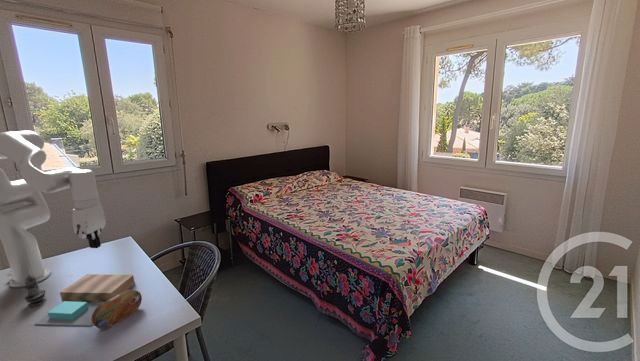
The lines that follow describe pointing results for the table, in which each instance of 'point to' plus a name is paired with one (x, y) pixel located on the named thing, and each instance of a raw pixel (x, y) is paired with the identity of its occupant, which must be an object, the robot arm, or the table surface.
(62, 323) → the mat
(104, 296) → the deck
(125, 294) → the tin
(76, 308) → the turquoise foam pad
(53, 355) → the table surface
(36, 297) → the grey chess piece
